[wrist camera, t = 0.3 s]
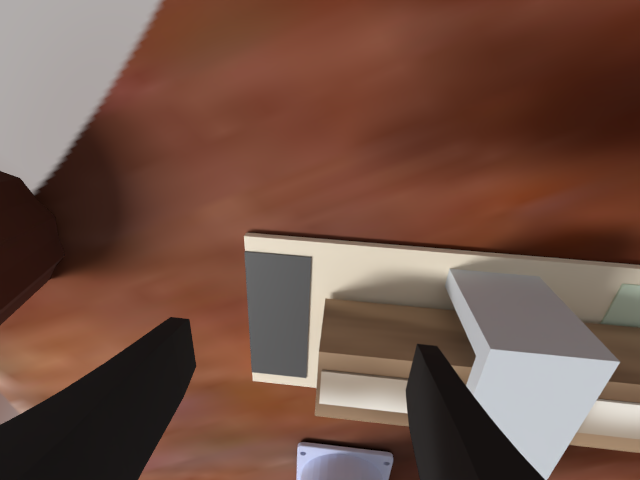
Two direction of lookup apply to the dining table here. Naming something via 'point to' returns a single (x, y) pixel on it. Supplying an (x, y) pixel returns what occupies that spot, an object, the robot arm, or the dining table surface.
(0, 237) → the muffin
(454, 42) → the dining table surface
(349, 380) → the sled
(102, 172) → the dining table surface
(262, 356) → the tunnel
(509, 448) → the robot arm
